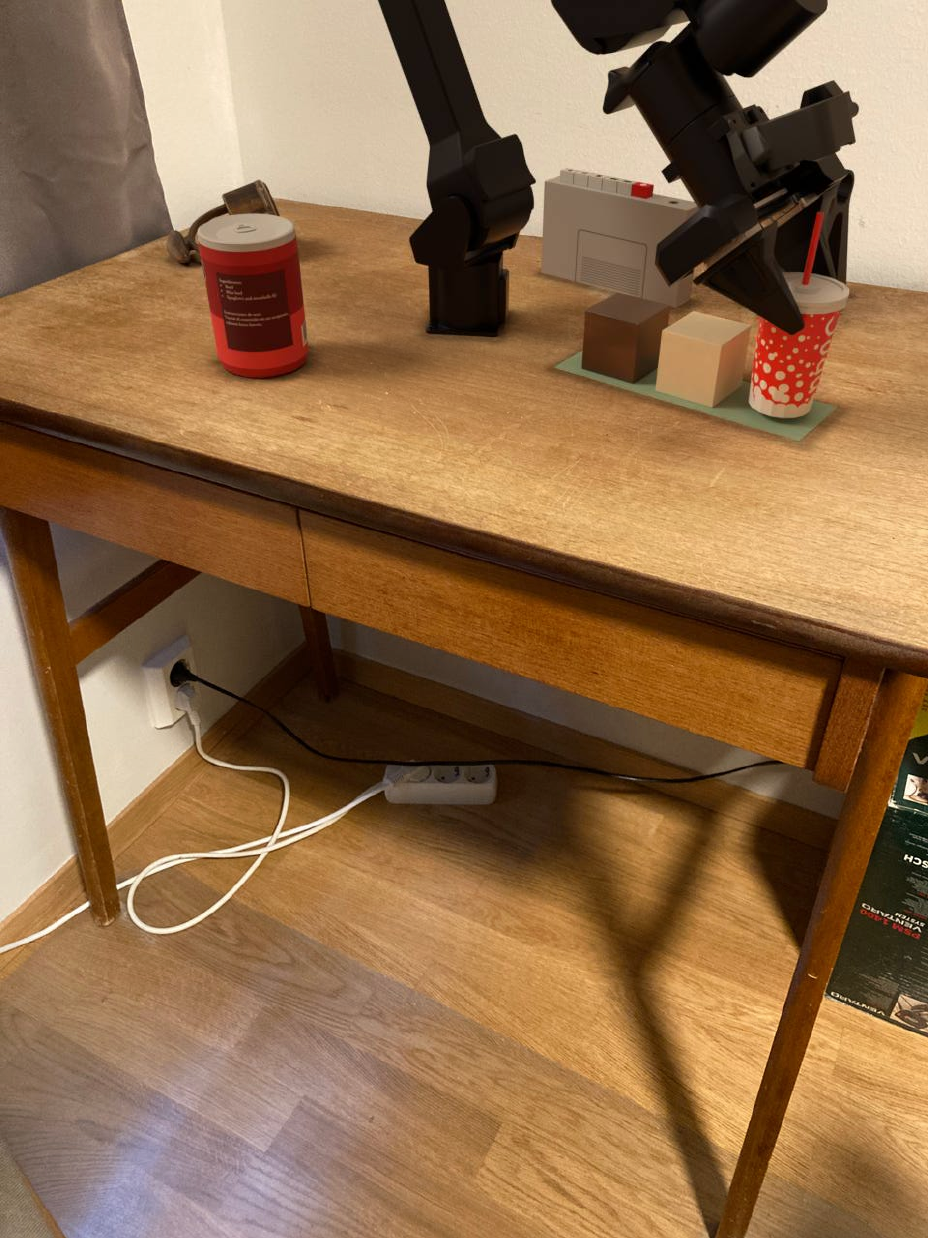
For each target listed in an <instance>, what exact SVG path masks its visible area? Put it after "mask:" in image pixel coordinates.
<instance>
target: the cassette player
mask: <svg viewBox="0 0 928 1238" xmlns="http://www.w3.org/2000/svg"><path fill="white" fill-rule="evenodd" d="M654 188H655V185H654V184H652V183H646V182H641V181H637V180H630V179H626V178H621V177H616V176H612V175H611V176H610V175H605V174H600V173H595V172H590V171H585V170H579V169H574V168H570V167H565V168H563V169H560V170H559V175H558V176H555V177H552V178H549V179H546V180H545V181H544V188H543V189H544V190H543V213H542V214H543V216H542V217H543V218H542V242H541V243H542V244H541V264H540V265H541V268H540V269H541V270H540V272H541V273H542V274H546V275H548V276H549V275H550V276H552V277H556V278H561V279H564V280H569V281H572V282H576V283H580V284H583V285H587V286H591V287H595V288H599V289H602V290H605V291H610V292H614V293H622V294H626V295H630V296H634V297H638V298H642V299H647V300H651V301H655V302H659V303H663V304H667V305H670V306H671V307H670V308H673V309H677V308H678V307H680V306H682V305H684V304H686V303H687V302H689V301H691V298H692V291H693V283H694V282H693V280H694V274H695V271H694V272H693V273H692V274H691V275H689V276H688V277H686V278H685V279H683V280H681V281H679V282H678V283H676V284H674V285H672V286H671V287H669V286H668V285H667V283H666V281H665V280H664V278H663V277H662V275H661V273H660V272H659V270H658V269H657V267H656V265H655V257H656V248H657V244H658V243H659V242H661V241H662V240H663V239H664V238H665V237H667V236H668V235H669V234H670V233H672V232H673V231H674V230H675V229H676V228H678V227H679V226H680V225H681V224H683V223H684V222H685V221H686V220H687V219H689V218H690V217H691V216H692V215H694V214H695V213H696V212H697V211H698V210H699V208H698V207H697V205H696V203H695V202H694V200H693V201H691V200H687V199H683V198H682V199H681V198H677V197H671V196H667V195H663V194H662V195H661V194H656V193H654Z"/></svg>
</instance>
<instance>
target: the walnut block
mask: <svg viewBox="0 0 928 1238" xmlns="http://www.w3.org/2000/svg"><path fill="white" fill-rule="evenodd" d="M671 308H672V307H671V306H670V305H667V304H663V303H659V302H655V301H651V300H647V299H642V298H638V297H634V296H630V295H626V294H622V293H617V292H615V293H614V294H612V295H610V296H609V297H606V298H605V299H602V300H601V301H599V302H597V303H595V304H593V305H592V306H589V307H588V308H586V309H585V310H584V320H583V335H582V349H581V351H582V364H581V369H584V370H588V371H591V372H594V373H598V374H601V375H604V376H608V377H611V378H614V379H618V380H621V381H625V382H628V383H631V384H634V383H635V382H637V381H638V380H640V379H641V378H643V377H645V376H646V375H648V374H649V373H651V372H652V371H654V370H655V369H657V368H658V364H659V356H660V347H661V339H662V331H663V330H664V329H665V328H667V327H669V323H670V314H671Z"/></svg>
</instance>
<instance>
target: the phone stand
mask: <svg viewBox="0 0 928 1238" xmlns="http://www.w3.org/2000/svg"><path fill="white" fill-rule="evenodd" d="M845 170H846V171H847V173H848V175H846V176H845V177H844V178H843V179H841V180H840V181H839V182H837V183H836V184H835V185H833V186H832V187H831V188H829V189H828V190H826V191H825V192H824V193H822V194H821V195H820V196H822V195H823V194H825V193H827V192H829V191H830V190H832V189H834V188H836V196H835V197H834V198H833V199H832V201H831V204H830V208H829V211H828V214H827V217H826V221H825V228H826V234H827V239H828V245H829V249H830V254H831V258H832V262H833V266H834V270H835V274H836V279H837V280H838V281H840V282H842V283H844V284H845V285H846V286H847V271H848V269H847V268H848V244H849V242H848V241H849V223H850V221H849V218H850V204H851V198H852V193H853V189H854V186H855V179H856V177H855V176H856V175H855V173H854V171H853V170H852V169H847V168H845ZM820 196H818V198H819V197H820ZM779 267H780V266H779ZM780 269H781V271H782V273H783V272H785V271H784V270H783V269H782V268H781V267H780Z"/></svg>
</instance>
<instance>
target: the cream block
mask: <svg viewBox="0 0 928 1238" xmlns="http://www.w3.org/2000/svg"><path fill="white" fill-rule="evenodd" d="M751 331H752V324H748V323H745V322H739V321H736V320H732V319H728V318H724V317H719V316H716V315H712V314H708V313H705V312H704V313H703V312H700V311H695V310H692V311H691V312H689V313H688V314H686V315H684V316H683V317H682V318H680V319H678V320H677V321H674V322H673V323H672V324H670V325H668V327H667V328H665V329H664V330H663V331H662V339H661V347H660V356H659V364H658V373H657V381H656V390H655V391H657V392H661V393H664V394H667V395H671V396H674V397H678V398H681V399H684V400H688V401H691V402H694V403H698V404H701V405H704V406H708V407H711V408H713V407H714V406H715V405H717V404H718V403H719V402H721V401H722V400H723V399H725V398H726V397H727V396H728V395H730V394H731V393H732V392H734V391H735V390H736V389H738V388H739V387H740V386H741V385H742V381H743V379H744V372H745V368H746V361H747V356H748V349H749V343H750V339H751V338H750V337H751Z"/></svg>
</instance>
